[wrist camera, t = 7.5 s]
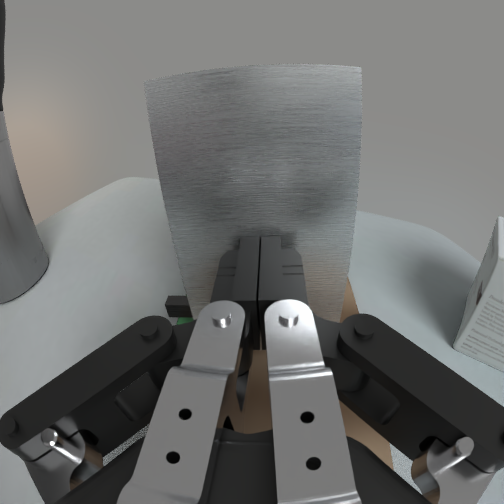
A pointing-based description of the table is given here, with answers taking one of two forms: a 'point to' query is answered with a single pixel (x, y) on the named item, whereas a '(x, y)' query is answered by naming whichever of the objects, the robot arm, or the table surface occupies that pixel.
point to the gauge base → (355, 427)
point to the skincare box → (486, 307)
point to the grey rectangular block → (259, 170)
